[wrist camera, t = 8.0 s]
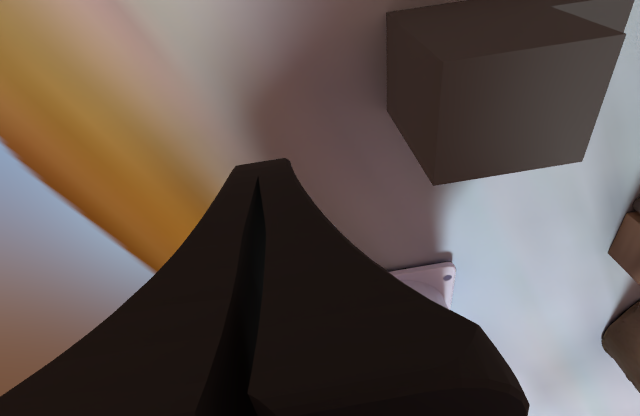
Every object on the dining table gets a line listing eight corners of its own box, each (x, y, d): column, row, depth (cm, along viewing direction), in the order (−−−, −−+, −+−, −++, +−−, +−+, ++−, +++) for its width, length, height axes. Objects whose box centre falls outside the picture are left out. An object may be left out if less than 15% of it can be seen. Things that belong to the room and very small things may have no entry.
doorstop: (386, 109, 18) (433, 185, 13) (385, 12, 15) (443, 62, 11) (561, 82, 18) (669, 147, 13) (588, -19, 16) (733, 17, 11)
